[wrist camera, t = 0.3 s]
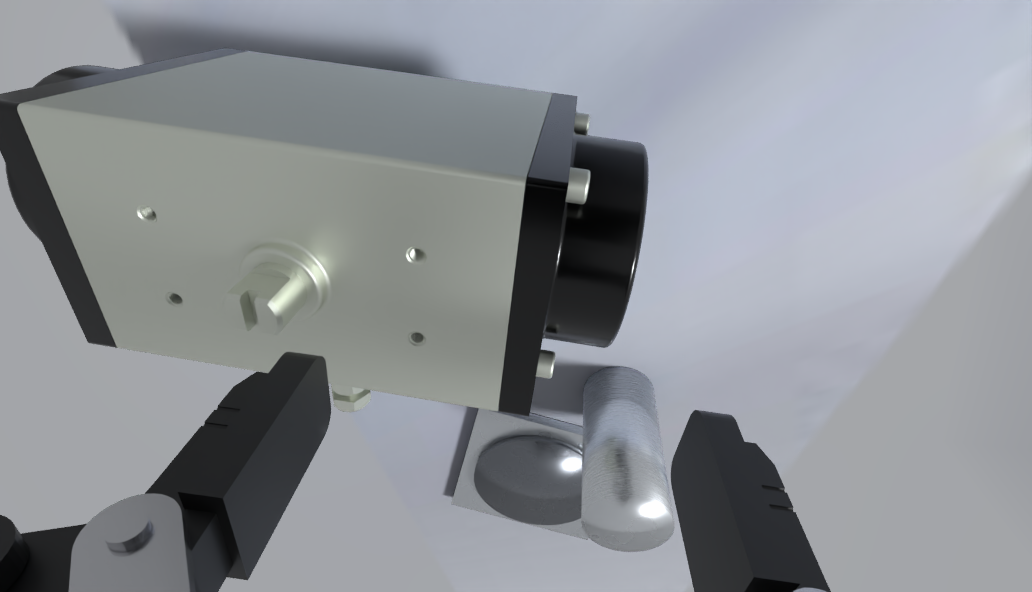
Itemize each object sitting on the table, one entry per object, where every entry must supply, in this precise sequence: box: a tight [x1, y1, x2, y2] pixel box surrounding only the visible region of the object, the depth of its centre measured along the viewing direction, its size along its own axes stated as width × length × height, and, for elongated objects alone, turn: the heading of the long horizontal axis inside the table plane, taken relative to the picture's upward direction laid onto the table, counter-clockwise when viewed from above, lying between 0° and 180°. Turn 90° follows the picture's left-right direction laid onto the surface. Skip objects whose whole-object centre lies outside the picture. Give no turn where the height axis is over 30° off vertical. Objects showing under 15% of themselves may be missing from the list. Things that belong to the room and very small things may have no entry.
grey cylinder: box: [581, 367, 674, 552], centre depth 31 cm, size 5×5×10 cm
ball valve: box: [0, 48, 648, 417], centre depth 19 cm, size 18×8×18 cm, turn 84°
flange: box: [451, 408, 589, 540], centre depth 40 cm, size 12×12×1 cm
